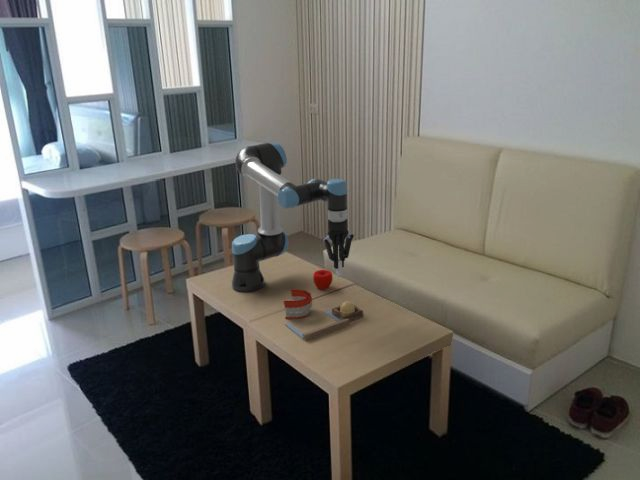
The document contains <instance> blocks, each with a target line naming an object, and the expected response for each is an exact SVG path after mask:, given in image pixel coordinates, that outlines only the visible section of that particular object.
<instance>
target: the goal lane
mask: <svg viewBox="0 0 640 480" xmlns="http://www.w3.org/2000/svg"><path fill="white" fill-rule="evenodd" d="M323 313H325V314H326V315H327V316H328V317H330V318H332V319H333V320H334V321H335V322H333V323H329V324H326V325H324V326H321V327H317V328H315V329H312V330H310V331H309V330H308V331H306V332H303V331H301V330H300V329H298V328H297V327H296V326H294V325H293V324H292V323H291V322H287V323H284V325H285V327H287V328H288V329H289V330H291V331H292V332H293V333H294V334H295V335H297V336H299V337H300V338H301V340H303V341H305V342H306V341H309V340H312V339H315V338H318V337H320V336H322V335H326V334H329V333H331V332H334V331H337V330H339V329H343V328H346V327H348V326H350V322H349V319H347V318H346V319H343V320H340V319H338V318H337V317H335V316H334V315H332V311H330V310H328V309H326V310H323Z"/></svg>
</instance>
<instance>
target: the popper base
mask: <svg viewBox="0 0 640 480" xmlns="http://www.w3.org/2000/svg"><path fill="white" fill-rule="evenodd" d="M340 306H341V305H339V306H336V307H333V308H331V312H332V315H334V316H335V317H337V318H338V319H340V320H343V319H346V318H347V319H349V323H351V322H355V321H357V320H359V319H362V318H364V310H363V309H362V308H360V307H358V306H356V305H354V307H355V312H353V313H350V314H347V315H345V314H343V313H342V312H340Z"/></svg>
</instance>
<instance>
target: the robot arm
mask: <svg viewBox="0 0 640 480" xmlns="http://www.w3.org/2000/svg"><path fill="white" fill-rule="evenodd" d="M287 158H288V157H287V154H286V151H285V149H284V148H283V146H282V145H281V144H280V143H278V142H276V141H275V142H272V141H271V142H264V143H260V144H254V145H248V146H246V147H243V148H241V149H240V150H239V151H238V153H237V154H236V156H235V160H234V161H235V167H236V169H237V172H238V173H239V174H240V175H241V176H242V177H244V178H246V179H248V180H249V179H251V180H252V181H254V182H256V183H257V184H258V187H259V189H258V191H259V210H260V212H259V213H260V227H258V229H257V235H256V234H254V233H253V234H252V233H251V234H250V233H247V234H241V235H239V236H237V237H235V238H234V239H233V240H232V242H231V253H232V254H231V255H232V262H233V275H232V280H231V287H232V289H233V290H234V291H237V292H240V293H241V292H242V293H249V292H254V291H257V290H260V289H262V288H263V287H265V284H266V282H265V278H264V275H263V273H262V271H261V268H260V262H262V261H266V260H269V259H272V258H277V257H279V256H281V255H284V254H285V253H286V252H287V250H288V248H289V238H288V235H287V233H286V231H284V229H283V227H281V226H280V207H282V208H283V209H289V208H290V209H293V208H295V207H298V206H299V207H300V206H303V205H306V204H307V205H308V204H310V203H315V202H318V201H322V202H326V204H327V219H328V220H327V228H328V230H327V231H328V233H327V235H326V237H323V238H322V239H321V240H322V242H323V243H324V245H325V249H326V252H327V257H328V258H329V260H330V261H332V262H333V268H334V269H335V275H336V276H337V277H338V278H340V277H343V268H344V266H345V261H346V259H348V258H349V255H350V252H351V251H350V249H351V246H352V240H353V239H354V237H355V235H354V234H353V233H351V232H349V229H348V227H349V226H348V223H349V222H348V189H347V186H348V185H347V181H346V180H344V179H342V178H331V179H329V180H327V181H325V180H322V179H320V178H319V179H318V178H312V179H309V181H308V182H307V183H303V184H299V185H295V184H294V183H292V182H291V181H289V180H288V179H286V178H284V176H282V169H283V168H284V167H286V165H287V162H288V161H287V160H288V159H287ZM330 242H331V243H332V246H331V243H330Z"/></svg>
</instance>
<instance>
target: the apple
mask: <svg viewBox="0 0 640 480" xmlns="http://www.w3.org/2000/svg"><path fill="white" fill-rule="evenodd" d="M312 275H313V276H312V279H313V283H314V285H315V287H316V288H317V289H318V290H320V291H324V290H327V289H329V287H330V286H331V284H332V282H333V273H332V272H331V271H330V270H327V269H319V270H316V271H315V272H314V273H313V274H312Z"/></svg>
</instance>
